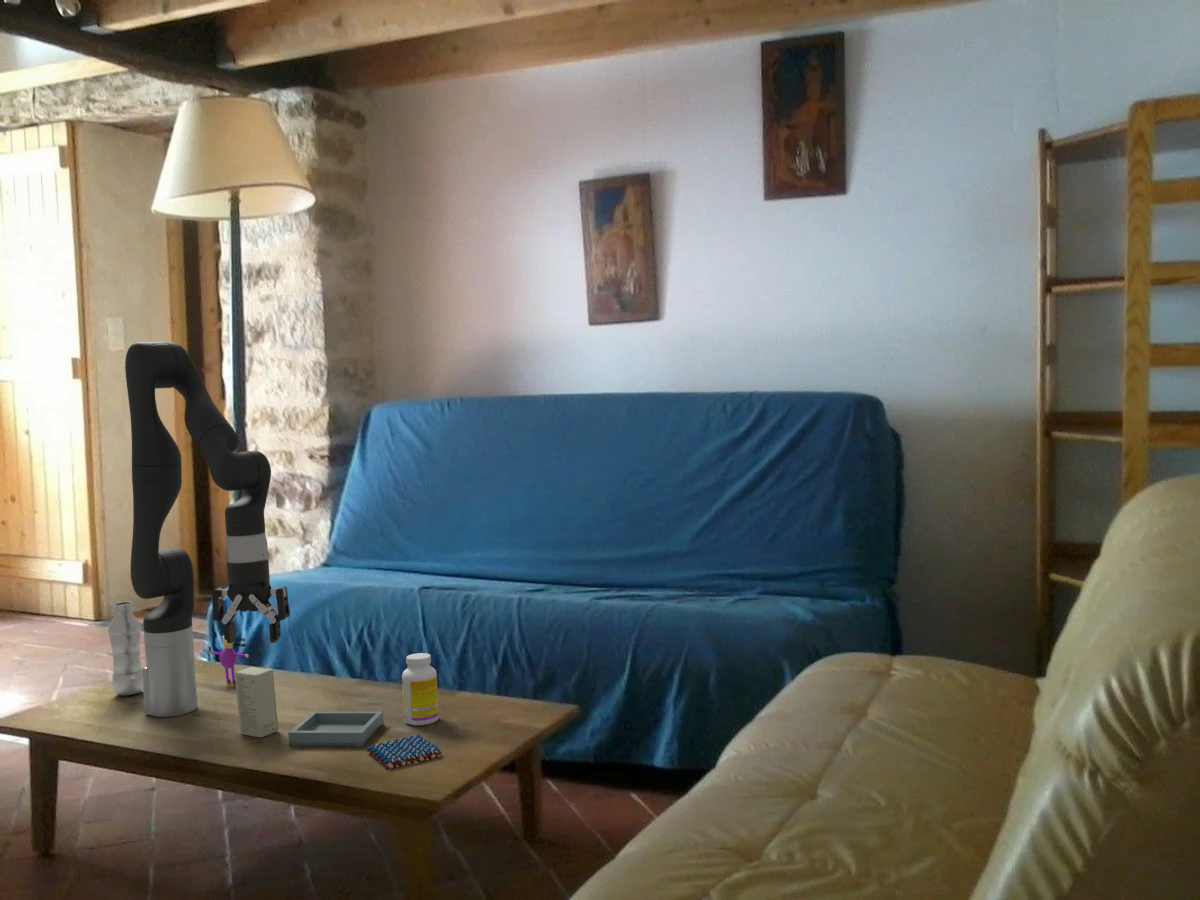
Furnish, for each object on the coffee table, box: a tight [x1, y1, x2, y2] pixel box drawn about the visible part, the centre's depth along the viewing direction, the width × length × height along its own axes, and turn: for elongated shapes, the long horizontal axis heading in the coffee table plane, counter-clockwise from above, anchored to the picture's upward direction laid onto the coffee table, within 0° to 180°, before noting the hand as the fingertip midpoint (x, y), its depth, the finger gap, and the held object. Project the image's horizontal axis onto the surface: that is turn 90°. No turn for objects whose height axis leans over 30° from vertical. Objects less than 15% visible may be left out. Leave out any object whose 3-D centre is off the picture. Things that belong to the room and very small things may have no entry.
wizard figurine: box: [208, 635, 249, 684], centre depth 239 cm, size 11×3×12 cm, turn 66°
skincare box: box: [234, 666, 279, 738], centre depth 205 cm, size 6×4×12 cm
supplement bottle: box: [401, 652, 440, 727], centre depth 208 cm, size 7×7×13 cm
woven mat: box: [366, 734, 443, 769], centre depth 191 cm, size 10×11×2 cm
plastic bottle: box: [107, 601, 143, 696], centre depth 233 cm, size 6×7×20 cm
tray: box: [287, 711, 385, 747], centre depth 202 cm, size 14×12×2 cm
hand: (253, 642), depth 204 cm, fingers open, 8 cm apart
